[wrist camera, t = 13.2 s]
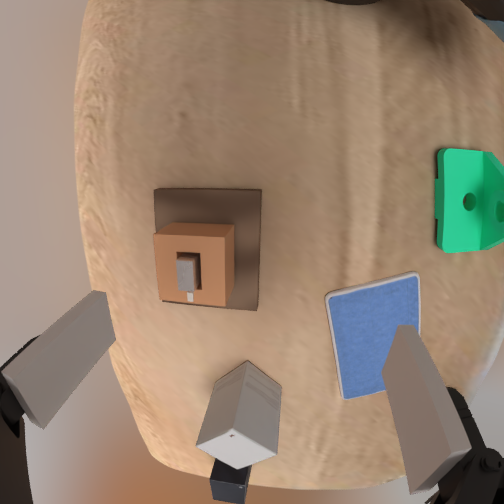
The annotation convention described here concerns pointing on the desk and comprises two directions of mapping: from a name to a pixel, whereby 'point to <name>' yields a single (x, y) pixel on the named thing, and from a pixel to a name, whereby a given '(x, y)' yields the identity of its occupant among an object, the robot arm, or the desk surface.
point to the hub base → (217, 212)
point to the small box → (229, 482)
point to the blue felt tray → (370, 328)
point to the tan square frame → (212, 261)
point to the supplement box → (242, 418)
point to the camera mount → (469, 200)
